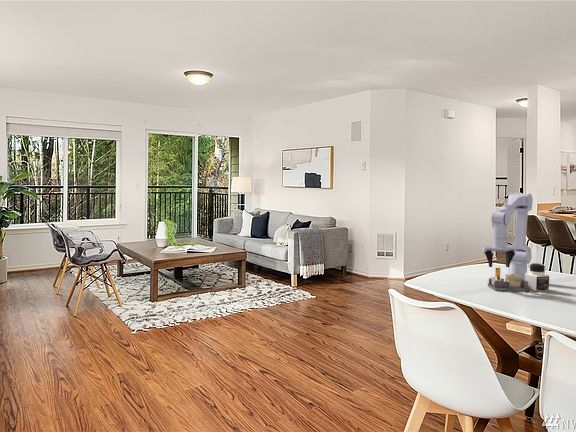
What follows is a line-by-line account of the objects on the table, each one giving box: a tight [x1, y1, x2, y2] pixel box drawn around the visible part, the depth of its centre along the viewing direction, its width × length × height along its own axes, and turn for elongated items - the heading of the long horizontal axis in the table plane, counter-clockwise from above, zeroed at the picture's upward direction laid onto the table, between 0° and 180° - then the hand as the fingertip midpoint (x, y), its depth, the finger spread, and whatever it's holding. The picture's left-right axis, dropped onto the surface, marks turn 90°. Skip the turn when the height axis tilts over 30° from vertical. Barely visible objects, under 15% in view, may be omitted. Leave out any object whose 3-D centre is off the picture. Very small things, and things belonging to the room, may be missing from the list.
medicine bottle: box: [525, 262, 550, 293], centre depth 207 cm, size 7×7×12 cm
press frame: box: [487, 277, 530, 293], centre depth 209 cm, size 10×14×4 cm
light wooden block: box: [504, 273, 520, 287], centre depth 208 cm, size 4×5×5 cm
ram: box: [490, 267, 503, 285], centre depth 209 cm, size 5×3×8 cm, turn 175°
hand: (499, 266), depth 208 cm, fingers open, 7 cm apart
